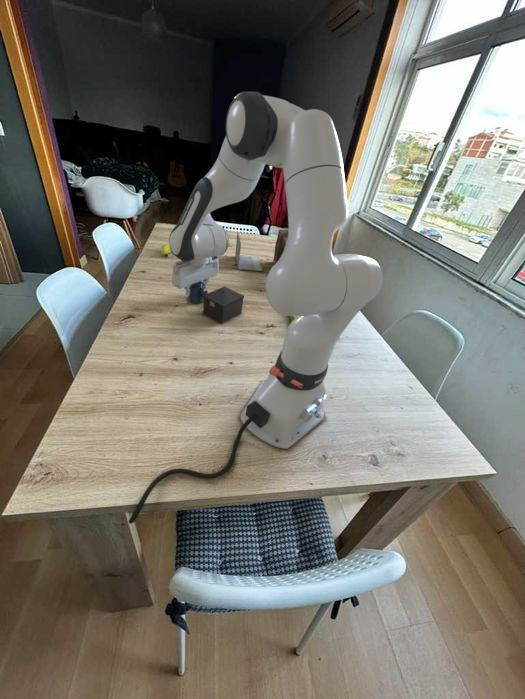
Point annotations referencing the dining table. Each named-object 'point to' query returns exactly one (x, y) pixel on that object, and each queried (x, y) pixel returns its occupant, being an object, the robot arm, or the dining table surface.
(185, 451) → the dining table surface
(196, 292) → the teapot
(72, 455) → the dining table surface
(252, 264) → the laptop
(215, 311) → the black box
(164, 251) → the banana
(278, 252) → the ornamental box
